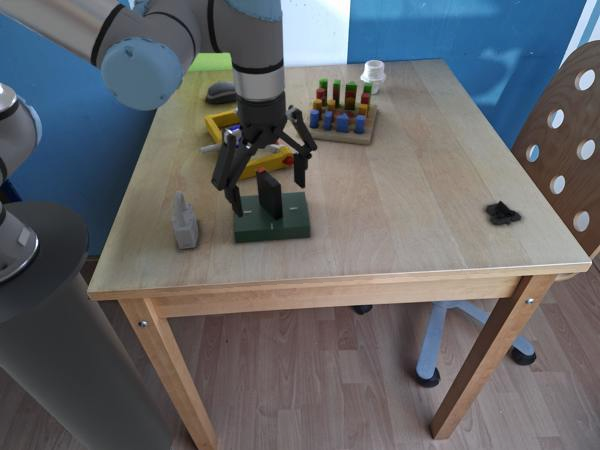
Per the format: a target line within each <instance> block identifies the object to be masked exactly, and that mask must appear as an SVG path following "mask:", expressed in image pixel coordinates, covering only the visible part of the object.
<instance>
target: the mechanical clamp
mask: <svg viewBox="0 0 600 450" xmlns="http://www.w3.org/2000/svg"><path fill="white" fill-rule="evenodd" d="M203 118H204V123H205V128H206V130H207V131H208V133H209V135H210V136H211V137H212V139H213V141H214V144H210V145H207V146H203V147H200V148H199V149H200V153H201V155H206V154H209V153H213V152H217V151H220V148H221V145H222V131H221V129H220V128H222V127H226V126H229V125H234V124H237V123H240V119H239V115H238V108H237V107H235V108H234V109H230V110H225V111H222V112H217V113H212V114H209V115H206V116H204V117H203ZM239 125H240V124H239ZM239 125H235V126H230V127H229V131H232V130H236V129H238V128H239ZM241 139H242V137H241V138H240V139H239V141H238V142H240V140H241ZM238 148H239V144H238V145H236V150H238ZM260 150H262V151H265V152H268V153H272V154H271V155H266V156H264V157H263V156H262V157H260V158H257V159H253V160H249V162H248V164H247V165H246V167H245V169H244V171H243V173H242V174H241V176H240V178H239V180H238V181H241V180H245V179H248V178H252V177H256V170H257V169H259V168H262V167H263V168H264V169H265V170H266V171H267V172H268V173H270V172H273V171H276V170H279V169H282V168H290V167H292V166H294V164H293V154H294V153H295V152H294V151H292V150H291V147H290V146H286V145H285V144H282V143H280V142H279V140H277V141H276V143H275V144H272V145H267V146H266V147H265V148H262V149H260Z"/></svg>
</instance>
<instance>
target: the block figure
mask: <svg viewBox="0 0 600 450" xmlns="http://www.w3.org/2000/svg"><path fill="white" fill-rule="evenodd" d="M485 211H486V212H487V214H488V216H490V219H489V221H490V222H491V223H492V224H493V225H496V226H500V225H505V224H507V225H508V226H509V225H510V224H511V223H514V222H518V221H521V219H522V215H521V214H520V213H519V212H518V211H515V210H512V209H510V208H509V207H508V206H507V205H506V204H505V202H503V201H502V200H499V201H498V202H497V203H492V204H488V205H487V206H486V209H485Z"/></svg>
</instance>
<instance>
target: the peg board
mask: <svg viewBox="0 0 600 450" xmlns="http://www.w3.org/2000/svg"><path fill="white" fill-rule="evenodd" d="M328 83H329V79H328V78H326V77H321V78H319V79H318V88H316V90H315V97H313V98H312V99H311V102H310V105H309V107H308V109H307V112H306V114H305V115H304V117H303V122H304V123H305V125H306V127H307V129H308V130H309V132H310V134H311V136H312V137H313V139H317V140H324V141H330V142H340V143H347V144H356V145H362V146H369V145H370V143H371V139H372V133H373V130H374V125H375V121H376V115H377V111H378V105H377V104H376V103H375V104H374V103H371V98H372V94H371V92H372V85H373V83H367V82H365V81H364V84H363V90H362V93H361V95H360V102H357V91H358V84H357V83H356V82H355V81H354V80H350V81H348V82H347V83H345V89H344V90H345V91H344V100H340V99H341V79H339V78H336V79H335V78H334V81H333V82H332V99H329V98H328V87H329V85H328Z"/></svg>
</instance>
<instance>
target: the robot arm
mask: <svg viewBox="0 0 600 450" xmlns="http://www.w3.org/2000/svg"><path fill="white" fill-rule="evenodd" d="M0 14H2V15H3V16H5V17H7V18H9V19H11V20H13V21H14V22H16V23H17V24H20V25H21V26H23V27H25V28H27V29H28V30H30V31H31V32H34V33H35V34H37V35H39V36H40V37H42V38H44V39H46V40H48V41H49V42H52V43H53V44H55V45H56V46H58V47H60V48H61V49H63V50H65V51H67V52H68V53H71V54H72V55H74V56H75V57H77V58H79V59H81V60H83V61H84V62H86V63H87V64H89V65H92V66H93V67H95V68H97V69H98V70H100V73H101V78H102V81H103V83H104V87H105V88H106V89H107V91H109V92H110V93H111V95H112V96H113V97H115V99H116V101H117V102H119V103H120V104H122V105H123V106H125V107H127V108H130V109H132V110H136V111H145V112H147V111H153V110H156V109H159V108H160V107H162V106H164V105H166V103H168V101H169V100H170V98H171V97H172V96H173V95H174V94H175V92H176V91H177V90H179V89H180V87H181V85H182V84H183V81H184V77H185V76H186V75H187V72H188V70H189V69H190V68H191V66H192V65H193V63H194V62H195V60H196V59H197V57H198V55H199V54H229V56H230V61H231V68H232V76H233V77H232V78H233V83H234V85H235V91H236V93H237V94H236V100H235V101H236V108H238V115H239V119H240V122H239V128H238V129H236V130H232V131H230V129H228V128H224V129H222V130H221V133H222V145H221V148H220V150H219V152H218V154H217V155H218V156H217V159H216V162H215V165H214V169H213V172H212V176H211V179H210V183H211V184H212V186H213V187H214V188H215V189H216V190H217V191H218V192H222V191H223V193H224V197H225V199H226V201H227V202H228V203H229V204H230V205H231V210H232V211H233V212H235V213H236V214H237V216H238V217H239V218H240V217H242V216H243V211H242V204H241V198H240V196H241V191H240V187H239V185H237V183H238V181H240V180H239V178H240V176H241V174H242V173H243V171H244V169H245V167H246V165H247V164H248V162H249V161H251V158H252V157H254V156H256V154H257V152H258V150H261V149H262V148H265V147H266V146H267V145H272V144H275V143H276V141H279V139H280V140H281V141H282V142H284V143H286V144H287V145H288V146H289V147H290V148H292V149H293V150H294V151H296V152H293V153H294V154H293V182H294V183H295V184H296V185H297V186H298V187H299V188H300V189H301V190H303V189H305V188H306V171H307V170H308V169H309V160H312V158H313V153H312V152H316V151H317V150H318V149H319V147H318V145H317V143H316V141H315V138H313V137H312V136H311V134H310V132H309V130H308V129H307V127H306V125H305V123H304V122H303V120H304V116H303V111H302V110H301V109H300V108H298V107H297V106H295V105H293V104H290V105H289V106H288V107H287V99H286V91H285V89H286V76H285V75H286V74H285V60H284V59H285V57H284V56H285V55H284V26H283V23H284V22H283V16H284V13H283V10H282V0H134V1H133V7H132V8H129V7H128V6H126V5H124V4H123V3H121V2H119V0H118V1H117V0H0ZM26 102H27V100H25V98H24V97H22V96H21V95H19V94H17V93H16V92H15V90H14V88H12V87H10V86H9V85H6V84H4V83H2V82H0V187H1V186H2V185H3V184H4V183H5V182H6V181H7V180H8V179H9V178H10V177H11V176H12V175H13V174H14V173H15V171H16V170H17V169H18V168H19V167H21V165H22V164H23V163H24V162H25V161H27V159H28V158H29V157H31V155H32V154H34V152H35V150H36V148H37V146H38V145H39V144H40V142H41V139H42V136H43V125H42V122H41V119H40V116H39V114H38V113H37V111H36V110H35V108H34V107H33V106H32V105H29V104H27V103H26ZM288 121H289V122H290V124H292V126H293V128H294V129H295V131H296V133H297V134H298V136H299V137H300V139H301V141H302V142H303V145H301V144H300V143H299V142H297V141H296V140H295V139H293V137H291V136H290V135H289V134H287V133H286V132H285V131H284V129H285V127H286V126H287V123H288ZM241 137H242V139H241V140H240V142H238V141H239V139H240V138H241ZM238 144H239V148H237V149H236V145H238ZM248 144H250V146H249V145H248ZM3 205H4V204H3V203H2V202H1V201H0V286H1V285H3V284H5V283H7V282H9V281H11V280H13V279H14V278H16V277H17V276H19V275H20V274H22V273H23V272H24V271H25V270H26V269H27V268H28V267H29V266H30V265H31V264H32V263H33V262H34V260H35V259H36V257H37V255H38V253H39V250H40V241H39V238H38V237H37V235H36V234H35V232H34V231H33V230H32V229H31V228H30V227H29V226H28V225H26V224H25V223H23V222H20V221H19V220H18V219H17V218H16V217H15V216H14V215H12V214H11V213H9V212H8V211H7V210H6V209H5V208H4V206H3Z"/></svg>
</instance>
